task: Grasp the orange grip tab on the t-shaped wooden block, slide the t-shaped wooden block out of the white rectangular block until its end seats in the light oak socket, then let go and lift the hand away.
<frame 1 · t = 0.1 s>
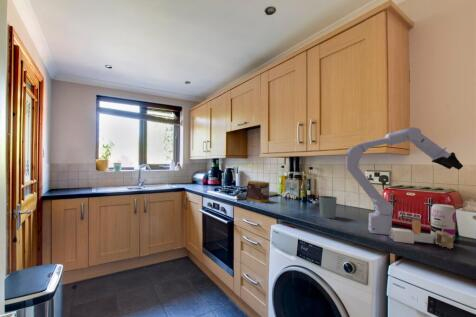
hand: (456, 167, 104), 32 cm above the counter, tool tilted 50°, fingers open, 7 cm apart
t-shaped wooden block: (410, 230, 100), point 5 cm above the counter, slide at 0.0 cm
grey tapered cup: (327, 217, 142), on the counter
oak socket: (443, 245, 97), on the counter
supplement can: (442, 239, 105), on the counter
supplement box: (257, 200, 193), on the counter
white rectangular block: (402, 240, 101), on the counter
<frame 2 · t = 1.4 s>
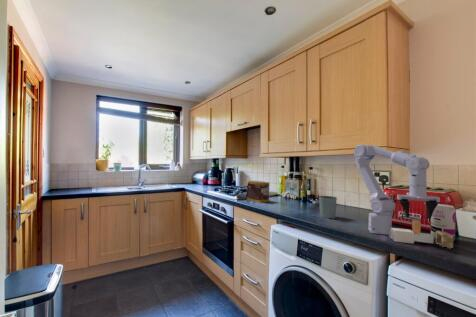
hand: (417, 217, 99), 10 cm above the counter, tool pointing down, fingers open, 7 cm apart
nothing on the counter moved.
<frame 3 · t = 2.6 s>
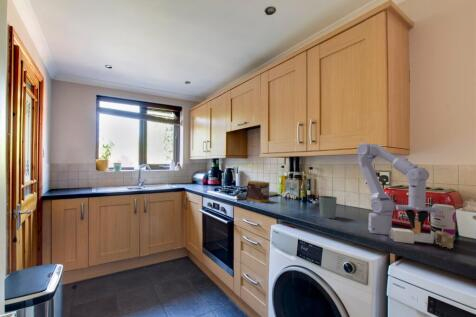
hand: (416, 228, 100), 6 cm above the counter, tool pointing down, fingers closed on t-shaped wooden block, 2 cm apart
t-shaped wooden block: (410, 230, 100), point 5 cm above the counter, slide at 0.0 cm, touching gripper
everything else where it was.
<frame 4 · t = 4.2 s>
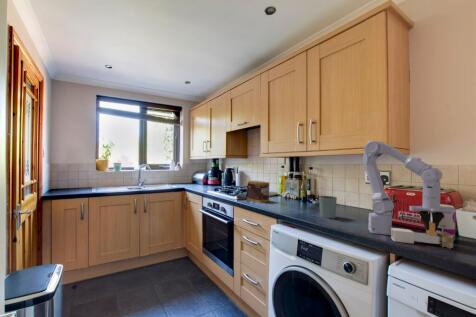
hand: (430, 229, 98), 6 cm above the counter, tool pointing down, fingers closed on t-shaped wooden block, 2 cm apart
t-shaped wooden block: (424, 231, 99), point 5 cm above the counter, slide at 5.0 cm, touching gripper
everything else where it was.
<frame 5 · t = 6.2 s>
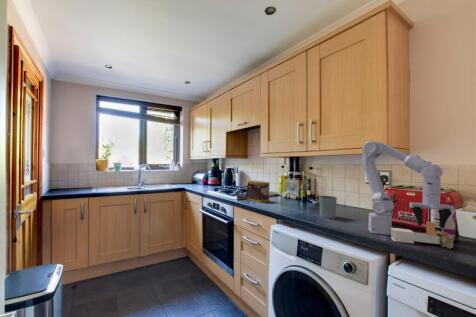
hand: (430, 226, 98), 7 cm above the counter, tool pointing down, fingers open, 7 cm apart
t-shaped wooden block: (424, 231, 99), point 5 cm above the counter, slide at 5.0 cm
everything else where it was.
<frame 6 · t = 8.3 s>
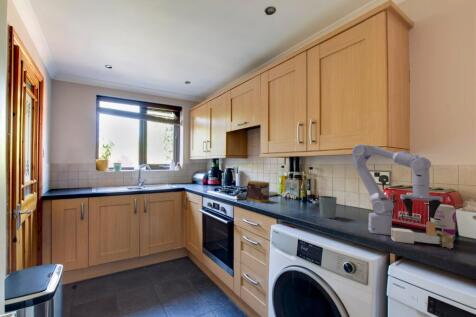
hand: (420, 217, 101), 10 cm above the counter, tool pointing down, fingers open, 7 cm apart
nothing on the counter moved.
at the end: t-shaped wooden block slide at 5.0 cm; the gripper is holding nothing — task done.
